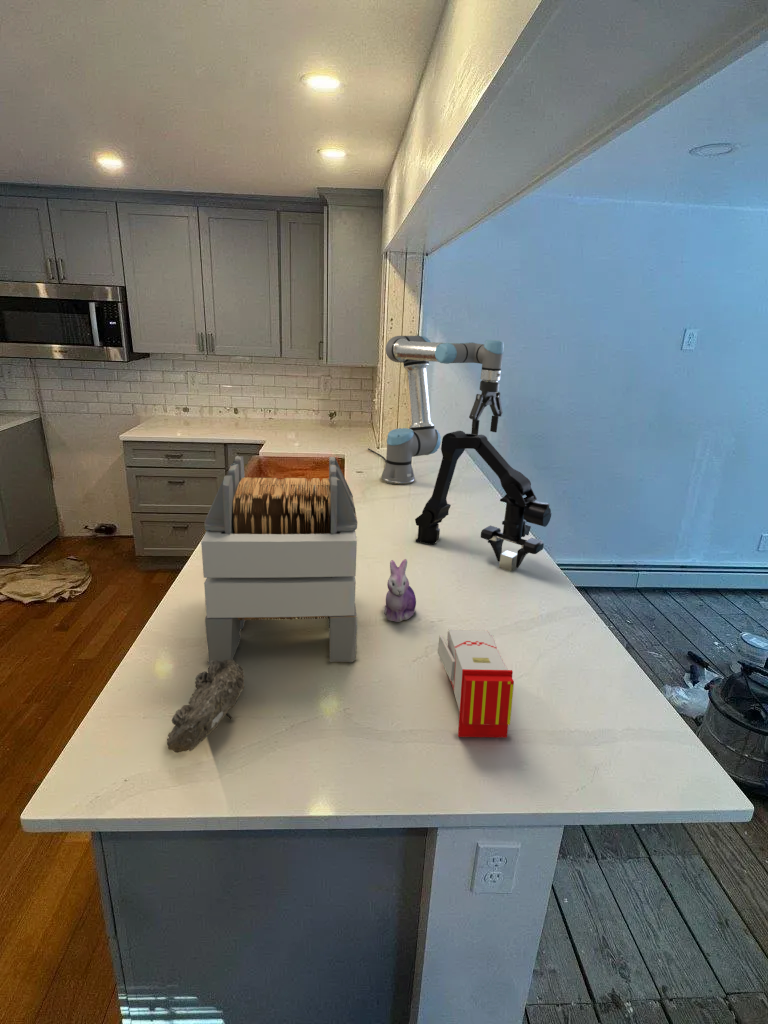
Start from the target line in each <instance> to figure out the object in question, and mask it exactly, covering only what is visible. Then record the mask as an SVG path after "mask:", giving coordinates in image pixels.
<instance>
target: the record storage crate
mask: <svg viewBox="0 0 768 1024" xmlns="http://www.w3.org/2000/svg"><path fill="white" fill-rule="evenodd" d="M328 458H329V459H328V477H327V478H326V477H325V478H324V477H323V478H319V477H312V478H310V479H307V478H306V477H284V478H277V477H245V476H246V475H245V462H244V456H243V455H242V456H241V455H240V456H239V455H235V457H234V459H233V461H232V463H231V464H230V466H229V468H228V471H227V473H226V475H224V477H223V479H222V480H221V483H220V486H219V487H218V490H217V491H216V495H215V497H214V499H213V501H212V504H211V506H210V508H209V511H207V515H206V517H205V519H204V521H203V522H204V523H203V524H204V530H205V533H204V534H203V537H202V538H201V540H200V541H201V542H200V544H201V556H202V558H201V559H202V574H203V579H205V578H206V579H205V581H204V583H203V586H204V587H203V588H204V600H205V612H206V613H205V618H204V624H205V625H204V626H205V639H206V646H207V660H208V661H207V664H208V666H209V665H210V662H211V661H212V660H217V661H222V662H223V661H224V660H227V659H228V660H231V659H232V660H234V658H235V654H236V652H237V649H238V647H239V645H240V642H241V631H242V630H243V629H244V626H245V625H244V624H245V621H265V620H267V621H270V620H273V621H275V620H276V621H277V620H282V621H283V620H303V619H304V620H312V619H313V620H317V619H319V620H321V619H327V620H328V645H329V646H328V649H329V651H328V652H329V662H330V663H339V662H340V663H344V662H345V663H353V662H354V661H355V660H356V659H357V630H358V629H357V626H358V625H357V623H358V614H357V607H356V587H357V586H356V585H357V584H356V576H357V575H356V574H357V551H358V550H357V549H358V548H357V546H358V539H357V532H356V530H357V529H358V517H357V512H356V507H355V501H354V495H353V493H352V491H351V488H350V487H349V485H348V482H347V480H346V478H345V476H344V473H343V471H342V469H341V467H340V465H339V463H338V461H337V458H336V457H335V456H329V457H328Z"/></svg>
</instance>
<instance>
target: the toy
mask: <svg viewBox="0 0 768 1024" xmlns="http://www.w3.org/2000/svg"><path fill="white" fill-rule="evenodd" d="M446 640H447V643H446V641H445V639H444V636H443V635H442V634H439V637H438V646H437V656H438V657H439V659H440V661H441V663H442V666H443V668H444V670H445V672H446V674H447V677H448V679H449V681H450V684H451V687H452V690H453V693H454V697H455V701H456V705H457V708H458V711H459V714H458V715H459V716H458V730H457V731H458V732H457V737H458V738H508V731H509V726H510V725H511V717H512V707H513V697H514V696H513V695H514V684H515V680H514V679H513V673H514V671H513V670H512V669H508V667H507V665H506V662H505V661H504V659H503V658H502V655H501V653H500V651H499V649H498V647H497V643H496V639H495V637H494V635H493V634H491V632H490V631H489V629H467V628H466V629H465V628H463V629H461V628H460V629H459V628H448V630H447V639H446Z"/></svg>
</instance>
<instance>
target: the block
mask: <svg viewBox="0 0 768 1024" xmlns="http://www.w3.org/2000/svg"><path fill="white" fill-rule="evenodd" d="M516 561H517V552H513V551H510V550H507V549H506V550H505V551H502V554H501V556H500V562H499V565H498V568H499V569H502V570H505V571H508V572H512V571H514V570H515V569H517V568H516Z"/></svg>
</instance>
